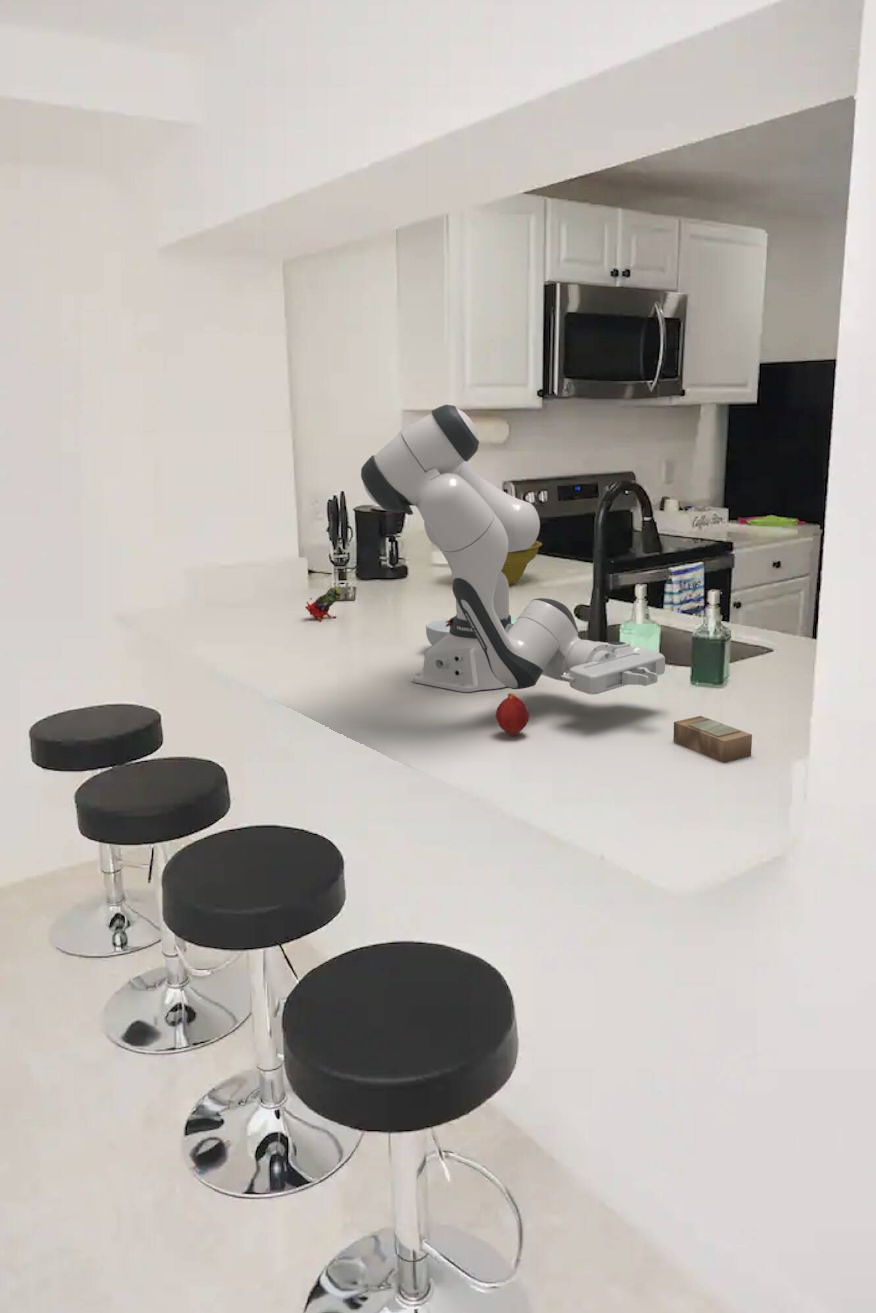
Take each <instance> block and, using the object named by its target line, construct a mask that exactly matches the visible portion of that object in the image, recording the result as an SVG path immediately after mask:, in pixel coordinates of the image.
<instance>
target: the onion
mask: <svg viewBox="0 0 876 1313" xmlns="http://www.w3.org/2000/svg"><path fill="white" fill-rule="evenodd" d="M529 718H530V713H529V710H528V706H527V705H526V703H525V702H524V701H523V700H522V699H520V698H519V697H518V696H517V695H516V694H515V693H513V692H509V693H508V694H507V698H505V699H503V700H502V701H501V703H499V704H498V707H497V708H496V710H495V719H496V720H495V721H496V723H497V724H498V726H499V727H500V729H502V731H505V733H507V734H508V736H510V737H515V736H516V735H518V734H519V733H520V732H522V731H523V730H524V729H525V727H527V725H528V723H529V720H530V719H529Z"/></svg>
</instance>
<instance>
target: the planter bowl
mask: <svg viewBox="0 0 876 1313" xmlns="http://www.w3.org/2000/svg"><path fill="white" fill-rule="evenodd" d="M542 545H543V543H542V542H541V541H538V540H536V541H535V542H534V543H533V545H532V546H531V547H530V548H528V549H525V550H520V551H514V552H508V553H507V558H506V561H505V563H504V566H503V568H502V570H501V572H502V573H503V574H504V575H505V576H506V578H507V580H508V584H509V586H512V585H514V584H515V583H516V582H518V581H519V580H521V577H522V575H523V574H524V572H525V570H526V568H527V566H528V564H529V563H530V562H531V561H533V560H534V559H535V558H536V556H537V555H538V550H539V548H540V547H541V546H542Z"/></svg>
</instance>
